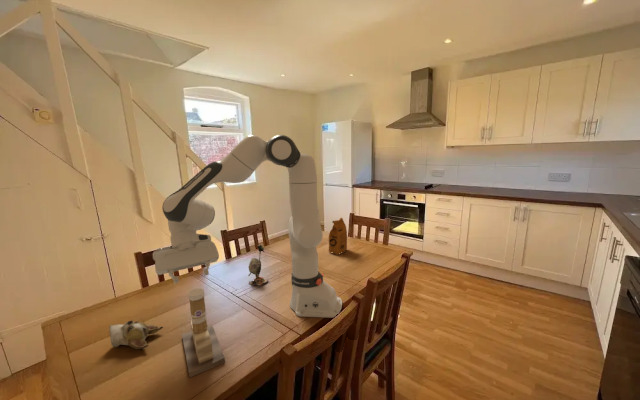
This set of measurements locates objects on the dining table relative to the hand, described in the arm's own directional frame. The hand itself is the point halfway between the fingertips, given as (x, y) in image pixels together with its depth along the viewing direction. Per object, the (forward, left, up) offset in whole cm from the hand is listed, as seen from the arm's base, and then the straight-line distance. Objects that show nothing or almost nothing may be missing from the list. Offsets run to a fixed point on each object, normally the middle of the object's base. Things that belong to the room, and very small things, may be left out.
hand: (191, 278), depth 88 cm
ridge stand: (-6, +5, -22) cm, 24 cm away
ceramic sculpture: (+19, +9, -23) cm, 31 cm away
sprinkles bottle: (-6, +5, -15) cm, 17 cm away
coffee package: (-31, -92, -22) cm, 100 cm away
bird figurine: (0, -41, -22) cm, 47 cm away
